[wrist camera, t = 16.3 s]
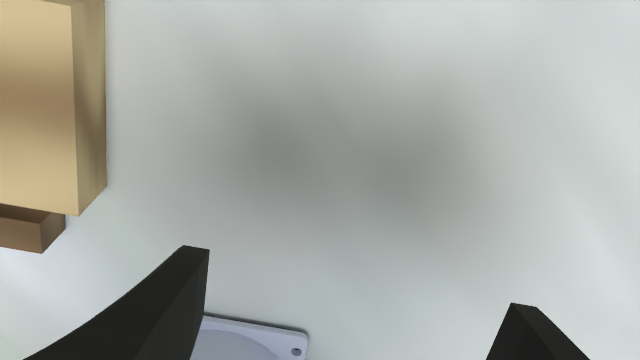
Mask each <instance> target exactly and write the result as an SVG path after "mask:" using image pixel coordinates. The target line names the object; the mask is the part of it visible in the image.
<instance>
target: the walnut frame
mask: <svg viewBox="0 0 640 360" xmlns="http://www.w3.org/2000/svg"><path fill="white" fill-rule="evenodd" d="M64 230H65V215H64V214H60V213H55V212H49V211H43V210H37V209H32V208H26V207H20V206H14V205H9V204H3V203H0V247H5V248H11V249H17V250H23V251H28V252H34V253H40V254H42V253H43V252H44V251H45V250H46V249H47V248H48V247H49V246H50V245H51V244H52V243H53V241H54V240H55V239H56V238H57V237H58V236H59V235H60V234H61V233H62V232H63V231H64Z"/></svg>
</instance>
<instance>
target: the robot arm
mask: <svg viewBox="0 0 640 360" xmlns="http://www.w3.org/2000/svg"><path fill="white" fill-rule="evenodd" d="M209 252H210V250H209V249H203V248H197V247H192V246H186V245H183V246H182V247H180V248H178V249H177V250H176V251H175V252H174V253H173V254H172V255H171V256H170V257H169V258H168V259H166V260H165V261H164V262H163V263H162V264H161V265H160V266H159V267H157V268H156V269H155V270H154V271H153V272H152V273H151V274H149V275H148V276H147V277H146V278H145V279H143V280H142V281H141V282H140V283H138V284H137V285H136V286H135V287H133V288H132V289H131V290H130V291H129V292H127V293H126V294H125V295H124V296H122V297H121V298H120V299H118V300H117V301H116V302H114V303H113V304H111V305H110V306H109V307H107V308H106V309H104V310H103V311H102V312H100V313H99V314H98V315H96V316H95V317H93V318H92V319H91V320H89V321H88V322H86V323H85V324H83V325H82V326H80V327H79V328H77V329H75V330H74V331H72V332H71V333H69V334H68V335H66V336H64V337H63V338H61V339H59V340H58V341H56V342H54V343H53V344H51V345H49V346H48V347H46V348H44V349H42V350H40V351H39V352H37V353H35V354H33V355H31V356H29V357H27V358H25V359H23V360H305V357H306V353H307V348H308V337H307V335H305V334H304V333H302V332H297V331H291V330H285V329H279V328H274V327H268V326H262V325H256V324H250V323H244V322H239V321H233V320H227V319H221V318H215V317H209V316H203V314H204V303H205V293H206V283H207V272H208V262H209ZM294 348H298V349H300V350H295V349H294ZM486 360H590V359H589V358H588V357H587V356H586V355H585V354H584V353H583V352H582V351H581V350H580V349H579V348H578V347H577V346H576V345H575V344H574V343H573V342H572V341H571V340H570V339H569V338H568V337H567V336H566V335H565V334H564V333H563V332H562V331H561V330H560V329H559V328H558V327H557V326H556V325H555V324H554V323H553V322H552V321H551V320H550V319H549V318H548V317H547V316H546V315H545V314H544V313H542V312H541V311H540V310H539V309H538V308H537V307H533V306H528V305H522V304H516V303H511V304H510V306H509V309H508V311H507V313H506V315H505V318H504V320H503V322H502V324H501V327H500V329H499V331H498V333H497V336H496V338H495V340H494V342H493V345H492V347H491V349H490V352H489V354H488V356H487V358H486Z"/></svg>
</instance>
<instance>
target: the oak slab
mask: <svg viewBox="0 0 640 360" xmlns="http://www.w3.org/2000/svg"><path fill="white" fill-rule="evenodd" d="M106 186H107V181H106V94H105V6H104V0H0V203H3V204H9V205H14V206H20V207H26V208H32V209H37V210H43V211H49V212H55V213H60V214H66V215H72V216H78V217H79V216H80V215H81V214H82V212H83V211H84V210H85V209H86V208H87V207H88V206H89V205H90V204H91V203H92V202H93V201H94V199H95V198H96V197H97V196H98V195H99V194H100V193H101V192H102V191H103V190H104V189H105V188H106Z"/></svg>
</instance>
